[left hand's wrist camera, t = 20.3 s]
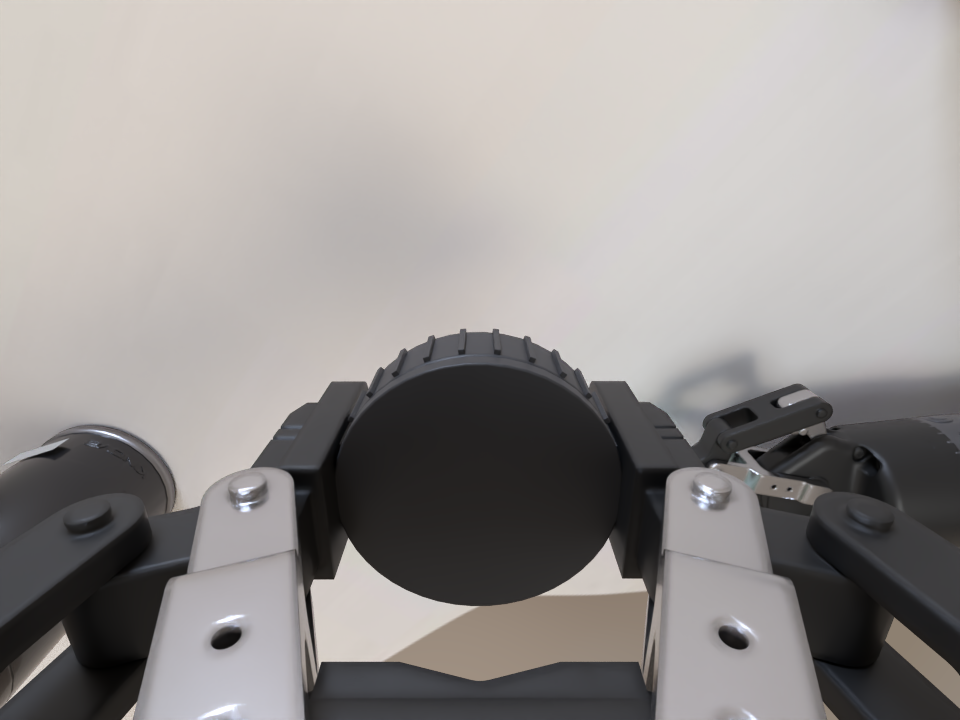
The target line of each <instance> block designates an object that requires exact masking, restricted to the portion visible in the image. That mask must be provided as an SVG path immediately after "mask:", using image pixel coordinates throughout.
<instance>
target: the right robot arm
mask: <svg viewBox="0 0 960 720" xmlns="http://www.w3.org/2000/svg"><path fill="white" fill-rule="evenodd" d="M832 412H833V409H832V406H831V405H830V404H828V403H827V402H825V401H824V400H823V399H821V398H820V397H819V396H817V395H816V394H814V393H813V392H812V391H810V390H809V389H807V388H806V387H805V386H803V385H801V384H794V385H791V386H788V387H785V388H783V389H780V390H777V391H774V392H771V393H769V394H766V395H763V396H760V397H757V398H755V399H752V400H749V401H746V402H743V403H741V404H738V405H735V406H732V407H730V408H727V409H724V410H721V411H718V412H716V413H713V414H710V415H708V416H707V417H706V418H705V419H704V421H703V427H704V429H705V431H704V433H703V435H702V437H701V439H700V441H699V442H697V443H696V444H694V445H693V446H692V447H691V448H692V449H693V451H694V452H695V453H696V455H697V456H698V458H699V459H700V460H701V462H702V463H703V465H704V466H705V467H706V468H710V469H714V470H718V471H721V472H725V473H727V474H730V475H732V476H734V477H736V478H738V479H740V480H741V481H743V482H744V483H746V484H747V485H748V486H749V487H750V488H751V489H752V490H753V491H754V492H755V494H756V495H757V498H758V501H759V506H760V507H764V508H769V509H773V510H778V511H784V512H789V513H794V514H799V515H804V516H809V517H810V515H811V511H812V508H813V504H814V501H815V499H816V498H817V497H818V496H820V495H822V494H824V493H828V492H849V493H855V494H860V495H864V496H868V497H871V498H874V499H877V500H880V501H882V502H885V503H887V504H889V505H891V506H893V507H895V508H897V509H899V510H900V511H902V512H904V513H905V514H907V515H909V516H910V517H912V518H913V519H915V520H916V521H918V522H919V523H921V524H923V525H924V526H926V527H927V528H929V529H930V530H932V531H933V532H935V533H936V534H938V535H940V536H941V537H943V538H944V539H946V540H947V541H949V542H950V543H952V544H954V545H955V546H957V547H958V548H960V414H945V415H932V416H925V417H916V418H907V419H897V420H888V421H878V422H868V423H859V424H849V425H840V426H835V427H832V428H829V429H826V425H825V421H827V420H828V419H829V418H830V417H831V415H832ZM788 434H792V435H791V436H789V437H788V438H786V439H785V440H783V441H782V442H780V443H779V444H777V445H776V446H774V447H773V448H771V449H768V448H762V447H756V445H759V444H762V443H764V442H767V441H770V440H773V439H776V438H779V437H782V436H785V435H788Z"/></svg>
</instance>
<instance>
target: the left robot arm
mask: <svg viewBox="0 0 960 720" xmlns="http://www.w3.org/2000/svg"><path fill="white" fill-rule="evenodd" d="M363 390H364V391H366V392H367V391H368V386H367V383H366V382H331V383H330V385H329V386H328V388H327V390H326V391H325V393H324V394H323V396H322V397H321V399H320V400H319V402H318V403H306V404H305V405H303V406H302V407H300V408H298V409H297V410H295V411H294V412H292V413H290V415H289V416H288V417H287V419H286V420H285V421H284V423H283V424H282V426H281V429H279V430H278V431H277V432H276V434H275V435H274V437H273V440H271V441H270V442H269V444H268V445H267V446H266V448H265V449H264V450H263V452H262V453H261V455H260V456H259V457H258V459H257V460H256V461H255V463H254V464H253V466H252V467H251V468H250V469H246V470H242V471H239V472H235V473H233V474H230V475H228V476H226V477H224V478H222V479H220V480H219V481H217V482H216V483H214V484H213V485H212V486H211V487H210V488H209V489H208V490H207V491H206V492H205V494H204V495H203V498H202V501H201V506H198V507H195V508H191V509H186V510H182V511H176V512H171V511H172V508H173V505H174V501H175V488H174V483H173V480H172V477H171V475H170V472H169V471H168V469H167V467H166V466H165V464H164V463H163V461H162V460H161V459H160V458H159V456H158V455H157V454H156V453H155V452H154V451H153V450H152V449H150V448H149V447H148V446H147V445H145V444H144V443H143V442H141V441H140V440H138V439H136V438H134V437H133V436H131V435H129V434H126V433H124V432H121V431H119V430H116V429H112V428H108V427H102V426H79V427H74V428H70V429H67V430H65V431H63V432H60V433H59V434H57V435H56V436H54V437H53V438H51V439H50V440H48V441H47V442H46V443H44V444H43V445H42V446H41V447H39V448H36V449H33V450H30V451H27V452H23V453H20V454H18V455H17V456H15V457H14V458H12V459H11V460H9V461H8V462H6V463H5V464H8V463H11V462H14V461H18V460H21V459H23V460H21V461H20V462H18V463H17V464H15V465H13V466H12V467H10V468H9V469H7V470H6V471H4V472H3V473H1V474H0V720H121V719H122V718H123V717H124V716H125V715H126V714H127V712H128V711H129V710H130V709H131V708H132V707H133V706H134V704H135V703H136V702H137V705H136V709H135V713H134V717H133V720H827V717H826V713H825V709H824V705H823V702H824V703H825V704H826V706H827V707H828V708H829V709H830V710H831V711H832V712H833V714H834V715H835V716H836V717H837V718H838V719H839V720H960V708H958V707H957V706H956V705H955V704H954V703H953V702H952V701H951V700H950V699H948V698H947V697H946V696H945V695H944V694H943V693H942V692H941V691H940V690H939V689H937V688H936V687H935V686H934V685H933V684H932V683H931V682H930V681H929V680H927V679H926V678H925V677H924V676H923V675H922V674H921V673H920V672H919V671H918V670H916V669H915V668H914V667H913V666H912V665H911V664H910V663H909V662H908V661H906V660H905V659H904V658H903V657H902V656H901V655H900V654H899V653H898V652H897V651H895V650H894V649H893V648H892V647H891V646H890V645H889V644H888V643H887V642H886V641H885V639H886V637H887V634H888V631H889V629H890V626H891V624H892V621H893V619H894V617H895V618H896V619H897V620H899V621H900V622H901V623H902V624H903V625H904V626H906V627H907V628H908V629H909V630H910V631H912V632H913V633H914V634H915V635H916V636H917V637H919V638H920V639H921V640H922V641H923V642H925V643H926V644H927V645H928V646H929V647H930V648H932V649H933V650H934V651H935V652H936V653H938V654H939V655H940V656H941V657H942V658H943V659H945V660H946V661H947V662H948V663H949V664H950V665H951V666H952V667H953V668H954V669H955V670H956V671H957V672H958V674H959V675H960V548H958V547H957V546H955V545H954V544H952V543H950V542H949V541H947V540H946V539H944V538H943V537H941V536H940V535H938V534H936V533H935V532H933V531H932V530H930V529H929V528H927V527H926V526H924V525H923V524H921V523H919V522H918V521H916V520H915V519H913V518H912V517H910V516H909V515H907V514H905V513H904V512H902V511H900V510H899V509H897V508H895V507H893V506H891V505H889V504H887V503H885V502H882V501H880V500H877V499H874V498H871V497H868V496H864V495H860V494H855V493H849V492H828V493H824V494H822V495H820V496H818V497H817V498H816V499H815V501H814V504H813V508H812V511H811V515H810V517H809V516H804V515H799V514H794V513H789V512H784V511H778V510H773V509H769V508H764V507H760V506H759V501H758V498H757V495H756V494H755V492H754V491H753V490H752V489H751V488H750V487H749V486H748V485H747V484H746V483H744V482H743V481H741V480H740V479H738V478H736V477H734V476H732V475H730V474H727V473H725V472H721V471H718V470H714V469H710V468H706V467H705V466H704V465H703V463H702V462H701V460H700V459H699V458H698V456H697V455H696V453H695V452H694V451H693V449H692V448H691V446H690V445H689V444H688V442H687V441H686V439H683V435H682V434H681V432H680V431H679V430H678V429H676V425H675V424H674V423H673V421H672V420H671V418H670V417H669V416H668V414H667V413H666V412H664V411H662V410H661V409H659V408H658V407H656V406H655V405H653V404H651V403H650V402H638V400H637V399H636V397H635V395H634V394H633V392H632V391H631V389H630V388H629V386H628V384H627V383H626V382H625V381H592V382H591V383H590V387H589V390H590V392H591V393H592V392H594V391H595V392H596V394H597V396H598V398H599V400H600V402H601V404H602V406H603V408H604V410H605V412H606V414H607V416H608V418H609V420H610V422H609V423H607V425H608V427H609V429H610V431H611V433H612V436H613V438H614V440H615V442H616V444H617V450H618V453H619V456H620V460H621V465H622V477H621V486H620V495H619V503H618V512H617V519H616V523H615V526H614V528H613V530H612V533H611V534H610V536H609V540H610V543H611V546H612V549H613V552H614V555H615V558H616V561H617V564H618V567H619V570H620V573H621V576H622V578H643V581H644V583H645V586H646V589H647V591H648V594H649V596H648V603H647V610H646V621H645V632H644V643H643V654H642V664H641V669H640V666H639V663H638V662H559V663H554V664H550V665H547V666H543V667H539V668H535V669H531V670H527V671H523V672H519V673H515V674H511V675H507V676H503V677H499V678H495V679H491V680H486V681H473V680H469V679H465V678H461V677H457V676H453V675H449V674H445V673H441V672H437V671H433V670H429V669H425V668H421V667H417V666H413V665H409V664H405V663H401V662H321V666H320V669H319V664H318V653H317V643H316V632H315V621H314V610H313V602H312V596H311V590H310V587H311V584H312V582H313V579H334V578H335V575H336V572H337V569H338V566H339V563H340V560H341V557H342V554H343V551H344V548H345V546H346V543H347V540H348V536H347V534H346V532H345V530H344V528H343V525H342V523H341V520H340V514H339V506H338V497H337V489H336V480H335V466H336V460H337V456H338V453H339V450H340V445H339V444H340V442H341V440H342V437H343V435H344V433H345V431H346V429H347V427H348V425H349V423H350V422H349V421H348V418H349V416H350V414H351V412H352V410H353V408H354V406H355V404H356V402H357V400H358V398H359V396H360V394H361V392H362V391H363ZM5 464H3V465H5ZM65 634H67V636H68V639H69V641H70V644H71V645H70V646H69V647H68V648H67V649H66V650H64V651H63V652H62V653H61V654H60V655H59V656H58V657H57V658H56V659H55V660H53V661H52V662H51V663H50V664H49V665H48V666H47V667H46V668H45V669H44V670H42V671H41V672H40V673H39V674H38V675H37V676H36V677H35V678H34V679H32V680H31V681H30V682H29V683H28V684H27V685H26V686H25V687H24V688H23V689H21V690H20V691H19V692H18V693H17V694H16V695H15V696H14V697H13V698H12V699H10V698H11V696H12V695H13V694H14V693H15V692H16V691H17V689H18V688H19V687H20V686H21V685H22V684H23V682H24V681H25V680H26V679H27V678H28V677H29V675H30V674H31V673H32V672H33V671H34V670H35V669H36V667H37V666H38V665H39V664H40V663H41V662H42V660H43V659H44V658H45V657H46V656H47V655H48V653H49V652H50V651H51V650H52V649H53V648H54V646H55V645H56V644H57V643H58V642H59V641H60V639H61V638H62V637H63V636H64V635H65ZM9 699H10V700H9ZM8 700H9V701H8ZM7 701H8V702H7ZM6 702H7V703H6Z"/></svg>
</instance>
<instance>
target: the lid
mask: <svg viewBox="0 0 960 720" xmlns="http://www.w3.org/2000/svg"><path fill="white" fill-rule="evenodd" d="M348 421H349V422H350V423H349V425H348V427H347V429H346V431H345V433H344V435H343V437H342V440H341V442H340V444H339V445H340V450H339V453H338V456H337V460H336V466H335V480H336V489H337V497H338V506H339V514H340V520H341V523H342V525H343V528H344V530H345V532H346V534H347V536H348V538H349V539H350V541H351V542H352V544H353V545H354V547H355V548H356V550H357V551H358V552H359V553H360V555H361V556H362V557H363V558H364V559H365V560H366V561H367V562H368V563H369V564H370V565H371V566H372V567H373V568H374V569H375V570H376V571H378V572H379V573H380V574H381V575H383V576H384V577H386V578H387V579H389V580H390V581H391V582H393V583H395V584H397V585H398V586H400V587H402V588H404V589H406V590H408V591H410V592H413V593H415V594H417V595H420V596H422V597H426V598H429V599H432V600H436V601H439V602H445V603H450V604H455V605H467V606H492V605H501V604H508V603H513V602H517V601H522V600H525V599H528V598H531V597H535V596H538V595H540V594H542V593H545V592H547V591H549V590H551V589H554V588H555V587H557V586H559V585H561V584H562V583H564V582H566V581H567V580H569V579H570V578H572V577H573V576H574V575H576V574H577V573H578V572H580V571H581V570H582V569H583V568H584V567H585V566H586V565H587V564H588V563H589V562H590V561H592V560H593V559H594V557H595V556H596V555H597V554H598V552H599V551H600V550H601V549H602V547H603V546H604V544H605V543H606V541H607V539H608V538H609V536H610V534H611V533H612V530H613V528H614V526H615V523H616V519H617V512H618V503H619V495H620V486H621V477H622V465H621V460H620V456H619V453H618V450H617V444H616V442H615V440H614V438H613V436H612V433H611V431H610V429H609V427H608V425H607V423H609V422H610V420H609V418H608V416H607V414H606V412H605V410H604V408H603V406H602V404H601V402H600V400H599V398H598V396H597V394H596V392H595V391H594V392H592V393H591V392H590V390H589V388H588V386H587V383H586V381H585V379H584V377H583V375H582V373H581V371H580V370H579V369H578V368H577V369H576V370H575V371H574V370H573V369H572V368H571V367H570V366H569V365H568V364H567V363H566V362H564V361H563V360H562V359H561V358H560V355H559V353H558V351H556V350H555V349H554V350H553V351H552V352H550V351H548V350H546V349H544V348H542V347H541V346H539V345H537V344H534V343H532V342H531V338H530V337H528V336H525V337H524V339H521V338H517V337H513V336H509V335H505V334H499V330H498V329H493V333H488V332H468V333H466V329H460V334H453V335H448V336H444V337H441V338H437V339H435V337H434V335H433V336H430V337H428V341H427V342H426V343H423V344H421V345H419V346H416V347H415V348H413V349H411V350H409V351H408V352H407V350H406V349H405V348H404V349H403V350H401V351H400V353H399V356H398V358H397V359H396V360H395V361H393V362H392V363H391V364H389V365H388V366H387V367H386V368H385V369H383V368H381V367H380V368H379V369H378V370H377V372H376V374H375V377H374V379H373V381H372V383H371V385H370V387H369V389H368V391H367V392H366V391H364V390H363V391H362V392H361V394H360V396H359V398H358V400H357V402H356V404H355V406H354V408H353V410H352V412H351V414H350V416H349V418H348Z"/></svg>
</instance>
